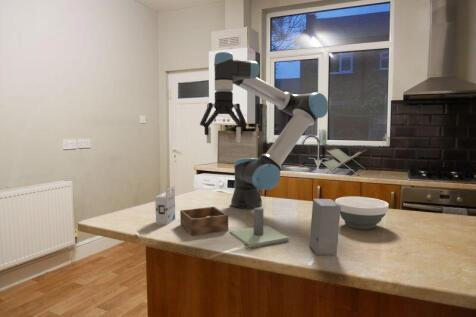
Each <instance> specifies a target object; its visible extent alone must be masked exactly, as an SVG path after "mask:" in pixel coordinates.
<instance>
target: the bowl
mask: <svg viewBox="0 0 476 317" xmlns="http://www.w3.org/2000/svg"><path fill="white" fill-rule="evenodd" d="M334 202H337V204H338V205H340V206H341V210H340V218H341V219H342V220H343V221H344V224H345V225H346V226H347V227H349V228H351V229H356V230H364V231H366V230H373V229H375V228H376V227H377V225H378V224H379V223H380V222H381V221H382V219H383V218H384V217H385V216H386V214H387V213H388V211H389V203H388V202H387V201H385V200H381V199H379V198H374V197H366V196H342V197H338V198H336V199H335V200H334Z"/></svg>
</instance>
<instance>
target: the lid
mask: <svg viewBox="0 0 476 317" xmlns="http://www.w3.org/2000/svg"><path fill="white" fill-rule="evenodd" d="M264 212H265V210H264V207H257V208H253V226H252V227H246V228H241V229H233V230H230V231H229V233H230V234H231V235H232V236H234V237H235V238H237V239H238V240H240V241H241V242H243V243H244V244H245V245H247V246H248V247H254V246H260V245H265V244H271V243H276V242H282V241H287V240H288V241H289V240H290V239H289V236H286V235H285V234H283V233H281V232H279V231H277V230H275V229H274V228H272V227H271V226H268V225H264ZM245 245H244V246H245ZM248 247H247V248H248Z"/></svg>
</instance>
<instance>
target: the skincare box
mask: <svg viewBox="0 0 476 317" xmlns="http://www.w3.org/2000/svg"><path fill="white" fill-rule="evenodd" d="M311 207H312V210H311V220H310V231H309V232H310V233H309V242H308V245H309V247H311V249H312V250H313V252H314V253H315V254H316V255H317V256H325V255H326V256H327V255H328V256H334V255H337V254H338V253H337V250H338V239H339V228H340V219H341V215H340V210H341V206H340V205H338V204H337V202H335V200H333V199H331V198H330V199H329V198H327V199H326V198H313V199H312V206H311Z"/></svg>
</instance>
